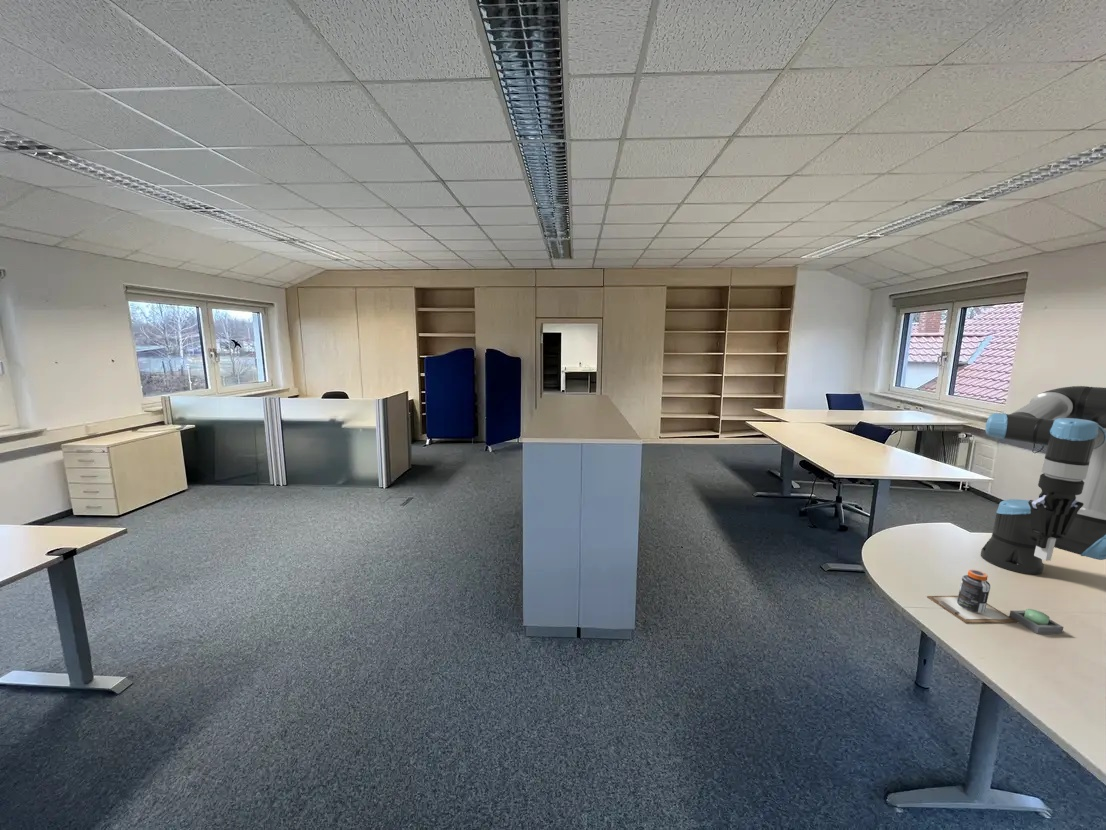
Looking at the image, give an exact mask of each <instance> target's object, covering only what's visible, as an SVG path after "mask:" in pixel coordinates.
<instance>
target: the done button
mask: <svg viewBox="0 0 1106 830" xmlns="http://www.w3.org/2000/svg"><path fill="white" fill-rule="evenodd" d="M1025 610H1026V611H1025ZM1025 610H1024V611H1025V615H1024V617H1026V618H1027V619H1029V620H1031V621H1032V622H1034V623H1036V624H1038V625H1048V622H1049V619H1050V616H1049V615H1048V614H1046V613H1044V612H1042V611H1040V610H1037V609H1032V608H1026V609H1025Z"/></svg>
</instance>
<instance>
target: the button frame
mask: <svg viewBox="0 0 1106 830" xmlns="http://www.w3.org/2000/svg"><path fill="white" fill-rule="evenodd" d="M1025 611H1026V609H1024V610H1010V611H1009V615H1008V616H1009V617H1011V618H1012V619H1014V620H1016V621H1017V623H1018V624H1020V625H1022V626H1023V627H1024V628H1027V629H1029V631H1031V632H1033V633H1035V634H1037V635H1044V634H1045V635H1049V634H1050V635H1051V634H1052V635H1054V634H1055V635H1056V634H1059V635H1060V634H1063V632H1064V626H1062V625H1061V624H1059V623H1057V622H1055V621H1053V620H1052V619H1051V618H1049V622H1048V625H1038V624H1036V623H1034V622H1032V621H1031V620H1029V619H1027V618H1026V617H1024V615H1025Z"/></svg>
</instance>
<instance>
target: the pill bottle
mask: <svg viewBox="0 0 1106 830" xmlns="http://www.w3.org/2000/svg"><path fill="white" fill-rule="evenodd" d="M988 578H989V576H988V574H986V573H985V572H983V571H980V570H977V569H968V571H967V574H965V575H963V576H962V578H961V581H960V586H959V590H958V594H957V596H958V599H957V603H958V605H960V606H961V607H962V608H964V609H966V610H969V611H971V612H975V613H983V612H985V608H986V604H988V599H989V594H990V590H991V584H990V583H989V581H988Z"/></svg>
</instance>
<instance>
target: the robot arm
mask: <svg viewBox="0 0 1106 830" xmlns="http://www.w3.org/2000/svg"><path fill="white" fill-rule="evenodd" d="M985 433H986V435H987V436H989V437H991V438H997V439H1000V440H1007V441H1015V442H1020V443H1021V442H1023V443H1027V444H1029V443H1030V444H1034V445H1040V446H1047V447H1046V452H1045V456H1044V460H1043V464H1042V468H1041V472H1042V473H1041V474H1040V475H1039V479H1038V484H1037V486H1038V487H1039V488H1040V489H1041V492H1040V493H1039V494H1038V499H1035V500H1033V499H1017V498H1016V499H1015V498H1011V499H1004V500H1002V501H1000V502H999V504H998V507H997V510H996V512H995V513H996V515H995V520H994V523H993V529H992V534H991V537H990V538H989V539H988V541H987V542H986V543H985V544H984V546H983V547H981V551H980V557H981V558H982V559H984V561H986V562H988V563H990V564H992V565H994V566H997V567H999V568H1002V569H1006V570H1008V571H1011V572H1016V573H1020V574H1026V575H1040V574H1043V570H1044V568H1045V566H1044V563H1043V561H1047V562H1049V561H1051V560H1052V557H1053V552H1054V549H1055V548H1056V549H1058V550H1062V551H1065V552H1069V553H1072V554H1077V555H1079V556H1080V557H1086V558H1090V559H1094V560H1099V561H1104V560H1106V387H1099V386H1095V387H1094V386H1087V385H1086V386H1085V385H1076V386H1075V385H1074V386H1065V387H1057V388H1053V389H1049V390H1046V391H1043V392H1041V393H1038V394H1037V395H1035V396H1033V397H1032V398H1031V399H1030V401H1029V403H1027V404H1026V405H1024V406H1022V407H1020V408H1019V409H1017V410H1015V411H1014V412H1011V413H1010V414H1009V413H1006V412H1004V413H1000V412H999V413H998V412H994V413H991V414H990V415H989V416H988V418H987V420H986V423H985Z"/></svg>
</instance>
